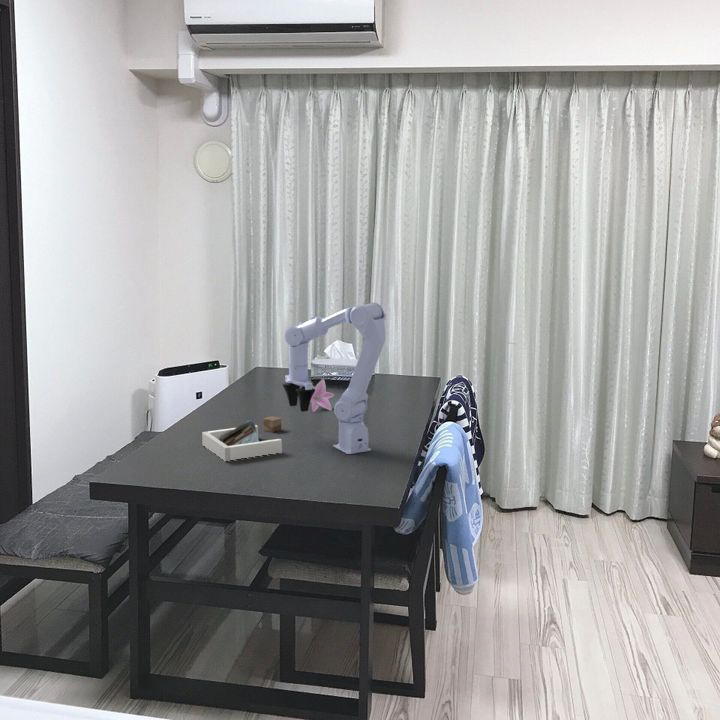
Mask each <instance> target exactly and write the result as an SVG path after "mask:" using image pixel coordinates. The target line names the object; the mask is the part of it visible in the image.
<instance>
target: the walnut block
mask: <svg viewBox="0 0 720 720" xmlns="http://www.w3.org/2000/svg"><path fill="white" fill-rule="evenodd" d="M264 430H266V432H268V431H269V433H275V431H276V432H279V430H280V431H282V417H278V416H273V415H272V416H269V417H264V418H263V431H264Z"/></svg>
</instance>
